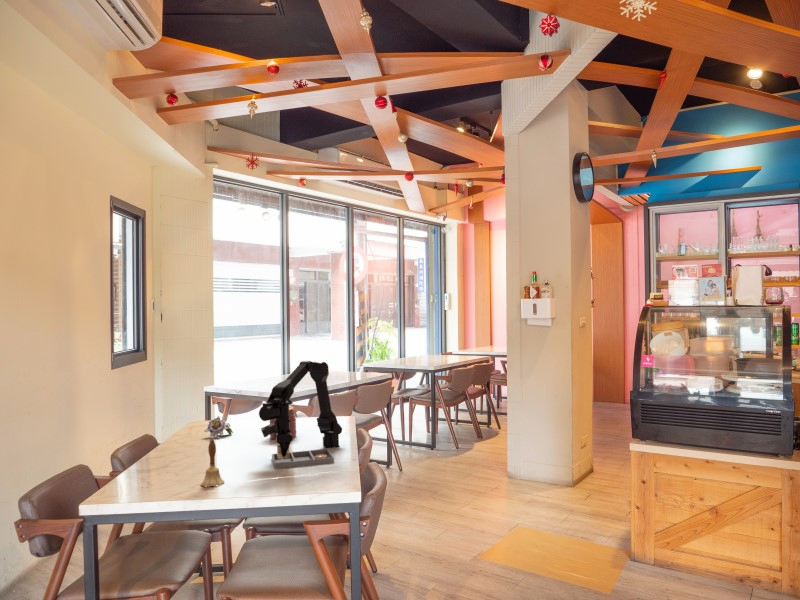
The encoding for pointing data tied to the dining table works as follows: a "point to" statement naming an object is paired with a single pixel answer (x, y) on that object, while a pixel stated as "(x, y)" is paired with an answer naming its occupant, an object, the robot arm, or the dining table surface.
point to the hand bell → (212, 469)
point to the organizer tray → (302, 459)
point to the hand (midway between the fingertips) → (283, 455)
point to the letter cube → (279, 453)
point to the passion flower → (218, 427)
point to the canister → (292, 423)
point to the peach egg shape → (320, 456)
